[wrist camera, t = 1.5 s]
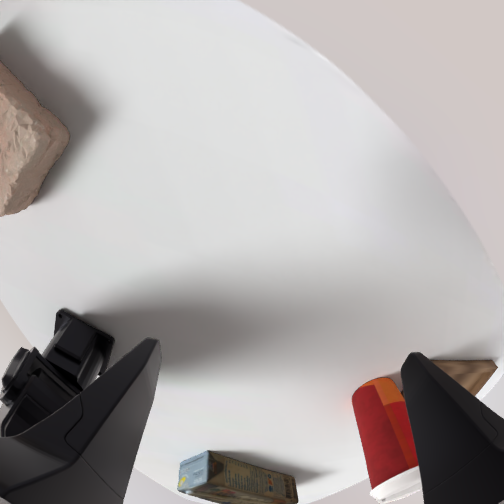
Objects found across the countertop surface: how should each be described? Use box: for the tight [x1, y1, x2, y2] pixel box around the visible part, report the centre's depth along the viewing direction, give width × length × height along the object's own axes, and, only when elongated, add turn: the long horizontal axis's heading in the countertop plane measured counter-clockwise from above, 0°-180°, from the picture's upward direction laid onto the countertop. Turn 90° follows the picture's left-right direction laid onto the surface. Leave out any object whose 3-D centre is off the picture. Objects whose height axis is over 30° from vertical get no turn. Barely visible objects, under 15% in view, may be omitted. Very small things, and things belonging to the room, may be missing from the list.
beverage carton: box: [177, 451, 298, 504], centre depth 35 cm, size 8×19×7 cm, turn 47°
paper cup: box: [352, 378, 422, 504], centre depth 24 cm, size 8×8×14 cm
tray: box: [401, 360, 498, 400], centre depth 31 cm, size 17×12×2 cm
